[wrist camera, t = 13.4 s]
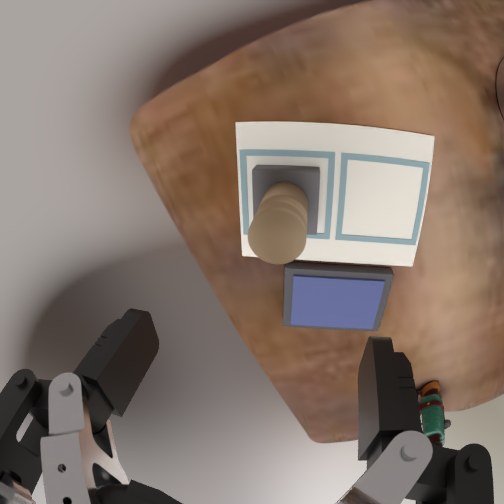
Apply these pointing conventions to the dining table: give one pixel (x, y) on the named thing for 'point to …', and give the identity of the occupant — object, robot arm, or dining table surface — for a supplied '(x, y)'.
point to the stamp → (283, 211)
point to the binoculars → (433, 413)
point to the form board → (346, 186)
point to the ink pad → (335, 296)
